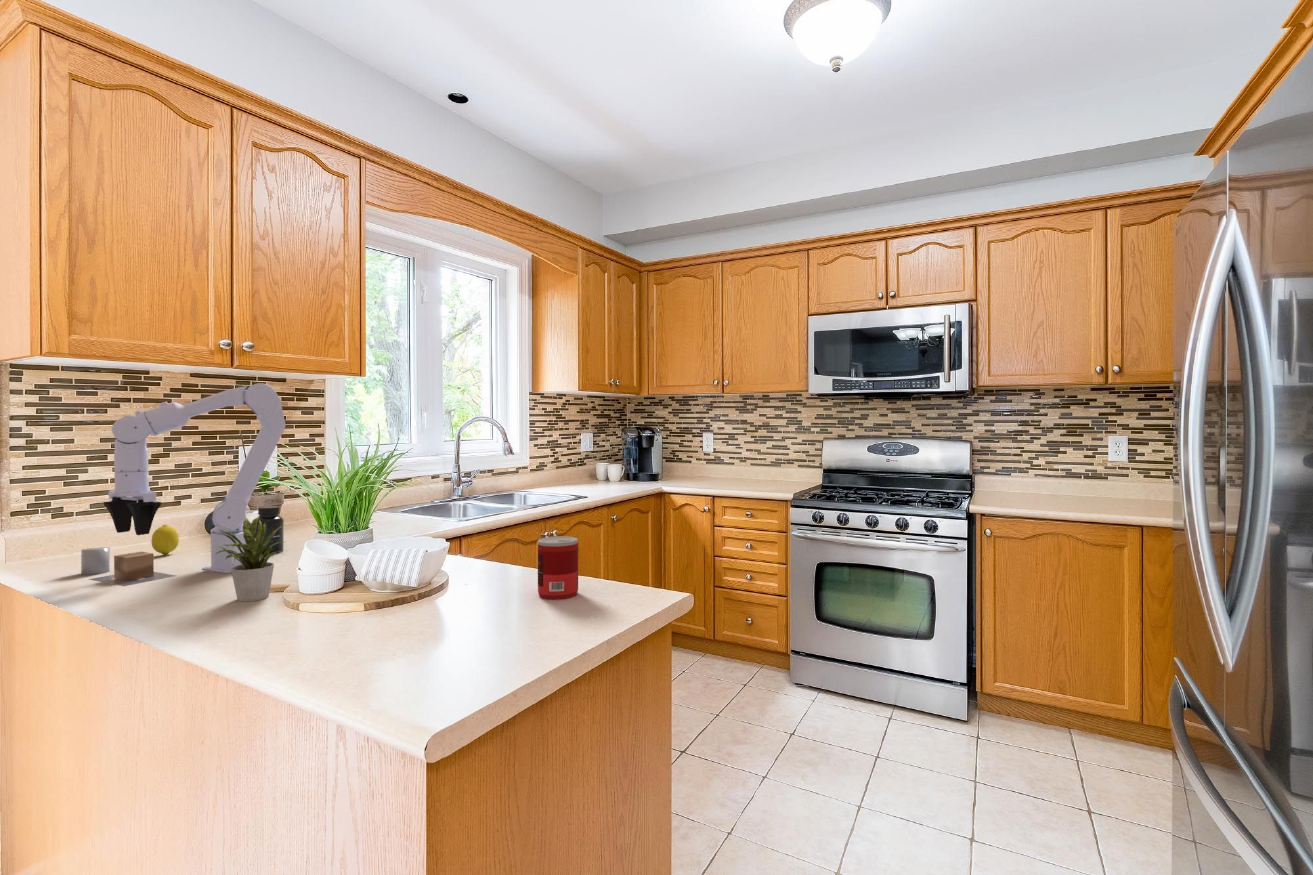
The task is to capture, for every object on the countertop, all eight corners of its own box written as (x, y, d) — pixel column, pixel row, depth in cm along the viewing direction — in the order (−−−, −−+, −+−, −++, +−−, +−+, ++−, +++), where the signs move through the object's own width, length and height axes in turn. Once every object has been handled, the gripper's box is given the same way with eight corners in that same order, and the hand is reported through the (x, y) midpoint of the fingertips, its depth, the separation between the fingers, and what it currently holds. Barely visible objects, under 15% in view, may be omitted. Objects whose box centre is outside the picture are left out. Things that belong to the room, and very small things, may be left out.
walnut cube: (153, 575, 139) (153, 553, 139) (126, 580, 134) (126, 557, 134) (141, 573, 141) (141, 551, 141) (114, 578, 136) (114, 555, 136)
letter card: (177, 576, 139) (177, 575, 139) (123, 587, 130) (123, 586, 130) (141, 570, 145) (141, 569, 145) (88, 580, 136) (88, 579, 136)
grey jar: (111, 572, 142) (112, 548, 142) (83, 576, 138) (84, 551, 139) (106, 570, 145) (106, 546, 145) (78, 573, 141) (79, 549, 142)
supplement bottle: (273, 554, 162) (273, 508, 162) (247, 554, 163) (247, 508, 162) (289, 549, 169) (289, 505, 169) (264, 549, 169) (263, 505, 169)
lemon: (184, 553, 164) (184, 523, 164) (165, 558, 159) (165, 526, 158) (165, 553, 165) (164, 522, 164) (145, 557, 159) (145, 526, 159)
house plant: (196, 597, 122) (195, 513, 122) (276, 584, 132) (275, 507, 132) (214, 612, 112) (213, 521, 112) (299, 596, 123) (298, 513, 122)
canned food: (586, 594, 125) (586, 539, 124) (554, 602, 119) (553, 544, 119) (561, 587, 130) (561, 534, 130) (530, 595, 124) (529, 539, 124)
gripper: (91, 471, 136) (92, 533, 137) (128, 473, 130) (129, 538, 131) (129, 469, 143) (131, 528, 143) (166, 471, 137) (167, 533, 137)
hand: (133, 533), depth 137 cm, fingers open, 7 cm apart
